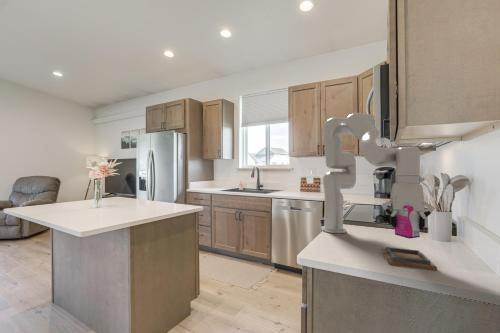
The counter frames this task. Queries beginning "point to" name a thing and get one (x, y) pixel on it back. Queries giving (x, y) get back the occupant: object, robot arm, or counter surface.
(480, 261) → the counter surface
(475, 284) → the counter surface
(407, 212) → the supplement box
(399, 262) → the base board
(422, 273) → the counter surface
